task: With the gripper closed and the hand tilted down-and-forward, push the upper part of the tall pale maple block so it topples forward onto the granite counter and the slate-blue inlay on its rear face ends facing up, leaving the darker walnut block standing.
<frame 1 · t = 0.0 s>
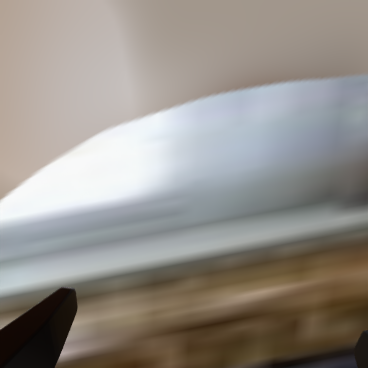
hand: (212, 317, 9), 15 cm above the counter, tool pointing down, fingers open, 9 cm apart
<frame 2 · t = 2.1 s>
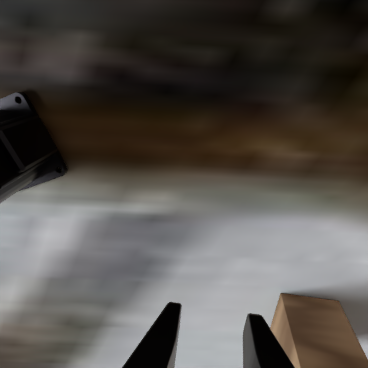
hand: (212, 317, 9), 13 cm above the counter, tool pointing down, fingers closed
walnut block: (302, 316, 26), on the counter
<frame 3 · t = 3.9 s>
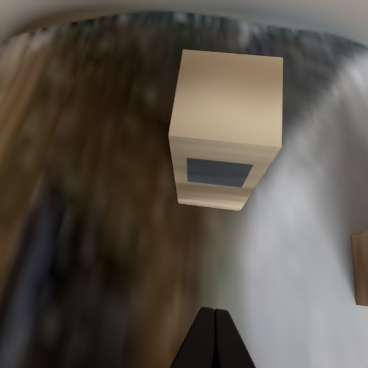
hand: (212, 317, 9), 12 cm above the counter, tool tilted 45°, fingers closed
maple block: (211, 178, 24), on the counter
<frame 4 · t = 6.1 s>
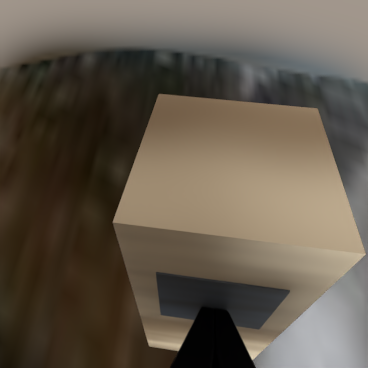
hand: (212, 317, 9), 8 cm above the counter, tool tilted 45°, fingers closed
maple block: (203, 302, 15), point 1 cm above the counter, tilted 21°
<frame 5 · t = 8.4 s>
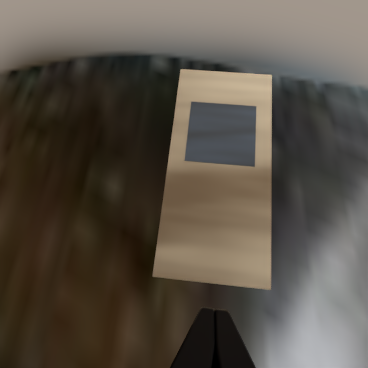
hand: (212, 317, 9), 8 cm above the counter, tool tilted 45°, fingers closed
maple block: (207, 282, 14), point 2 cm above the counter, tilted 90°
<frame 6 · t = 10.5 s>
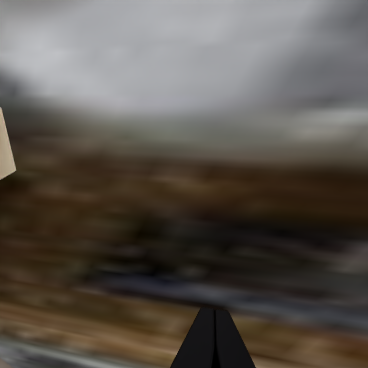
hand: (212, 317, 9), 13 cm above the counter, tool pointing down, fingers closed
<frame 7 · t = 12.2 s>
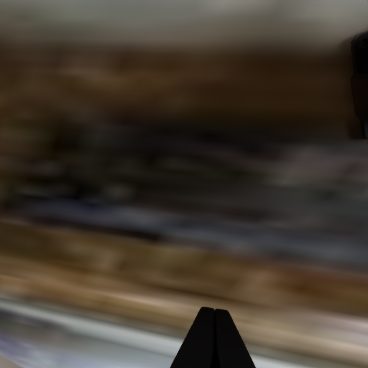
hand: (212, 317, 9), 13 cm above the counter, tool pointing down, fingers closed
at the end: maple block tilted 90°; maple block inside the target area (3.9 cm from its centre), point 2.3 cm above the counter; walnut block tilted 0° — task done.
